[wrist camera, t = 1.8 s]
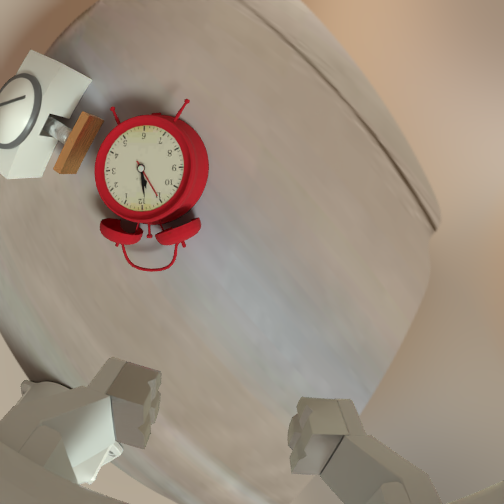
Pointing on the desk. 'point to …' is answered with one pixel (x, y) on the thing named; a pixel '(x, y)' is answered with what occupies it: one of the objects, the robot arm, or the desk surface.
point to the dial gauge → (35, 113)
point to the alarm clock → (151, 178)
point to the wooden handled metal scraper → (73, 140)
